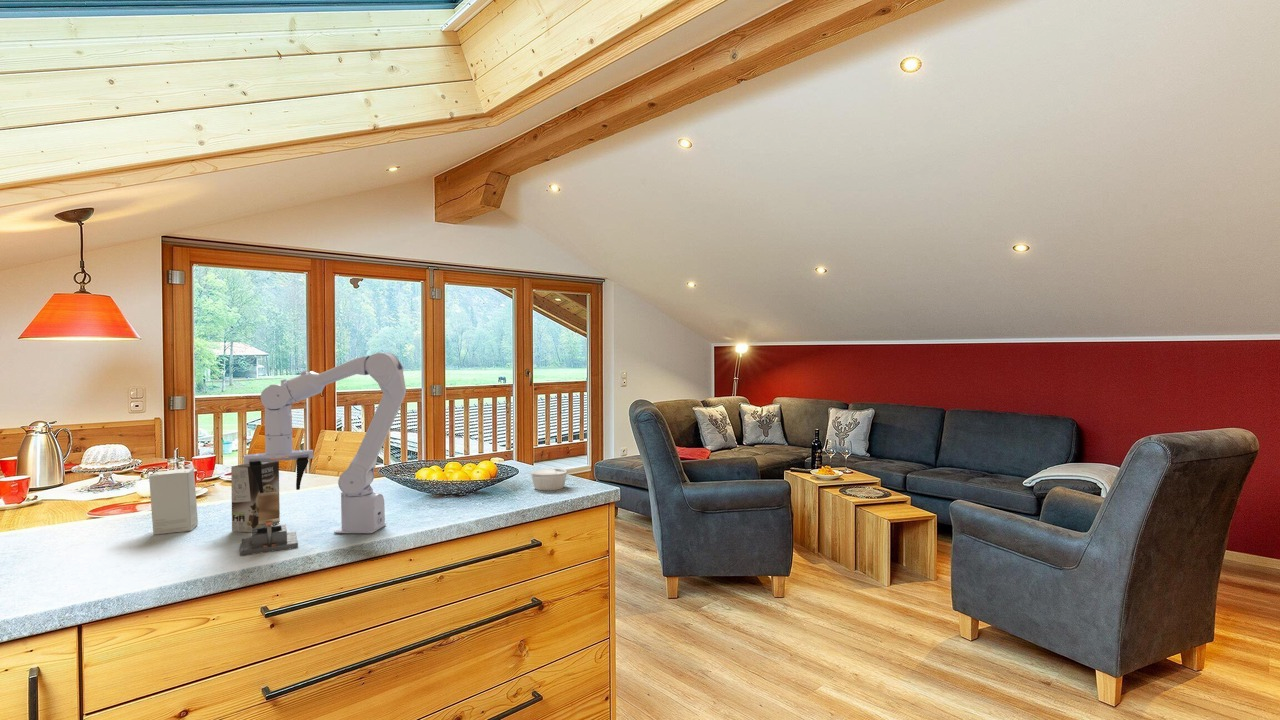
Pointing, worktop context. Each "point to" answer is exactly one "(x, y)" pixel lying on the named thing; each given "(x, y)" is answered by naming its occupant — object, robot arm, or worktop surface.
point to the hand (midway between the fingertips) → (279, 490)
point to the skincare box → (173, 501)
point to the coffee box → (251, 494)
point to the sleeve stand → (268, 539)
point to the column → (268, 507)
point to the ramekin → (549, 479)
